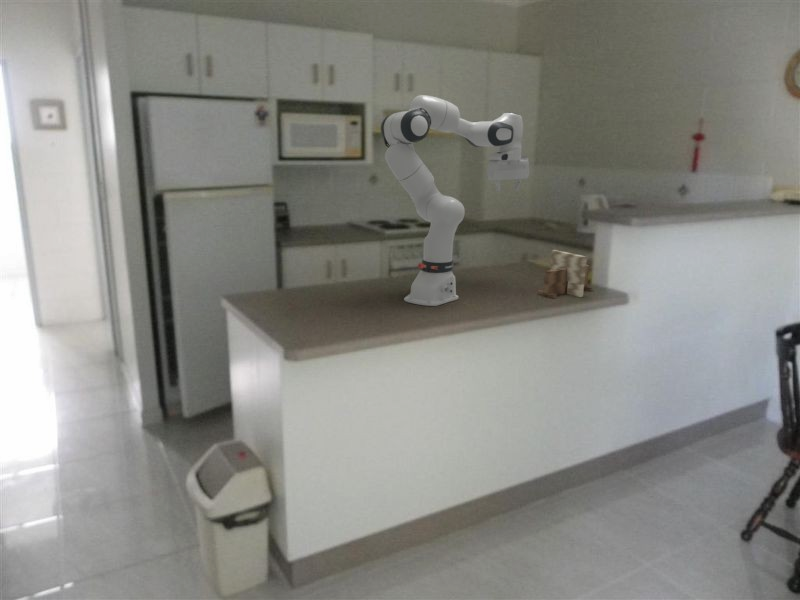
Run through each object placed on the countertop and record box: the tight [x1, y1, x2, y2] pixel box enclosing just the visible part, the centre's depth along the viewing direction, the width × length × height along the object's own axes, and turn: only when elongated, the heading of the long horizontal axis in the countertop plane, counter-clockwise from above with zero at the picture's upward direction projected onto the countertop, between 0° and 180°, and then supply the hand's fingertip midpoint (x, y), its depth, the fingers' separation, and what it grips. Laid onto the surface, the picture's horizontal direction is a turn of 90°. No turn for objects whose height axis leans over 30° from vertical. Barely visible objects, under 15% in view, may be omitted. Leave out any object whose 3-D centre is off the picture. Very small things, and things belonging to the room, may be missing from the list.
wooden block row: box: [536, 264, 594, 300], centre depth 240 cm, size 24×8×10 cm, turn 124°
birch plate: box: [549, 249, 588, 298], centre depth 239 cm, size 16×2×16 cm, turn 34°
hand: (507, 190), depth 240 cm, fingers open, 8 cm apart
